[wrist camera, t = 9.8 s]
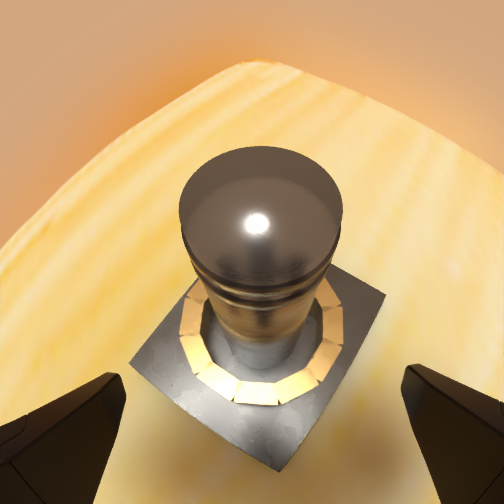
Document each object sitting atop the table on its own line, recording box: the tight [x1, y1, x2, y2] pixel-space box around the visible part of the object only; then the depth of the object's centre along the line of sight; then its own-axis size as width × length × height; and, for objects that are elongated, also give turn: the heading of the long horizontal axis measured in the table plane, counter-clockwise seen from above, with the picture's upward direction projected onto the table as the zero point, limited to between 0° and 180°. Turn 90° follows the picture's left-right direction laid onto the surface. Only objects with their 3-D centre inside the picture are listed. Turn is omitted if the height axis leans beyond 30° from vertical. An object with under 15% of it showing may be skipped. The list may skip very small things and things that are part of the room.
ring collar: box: [129, 263, 386, 472], centre depth 19 cm, size 14×12×4 cm
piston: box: [179, 146, 343, 369], centre depth 14 cm, size 5×5×13 cm
